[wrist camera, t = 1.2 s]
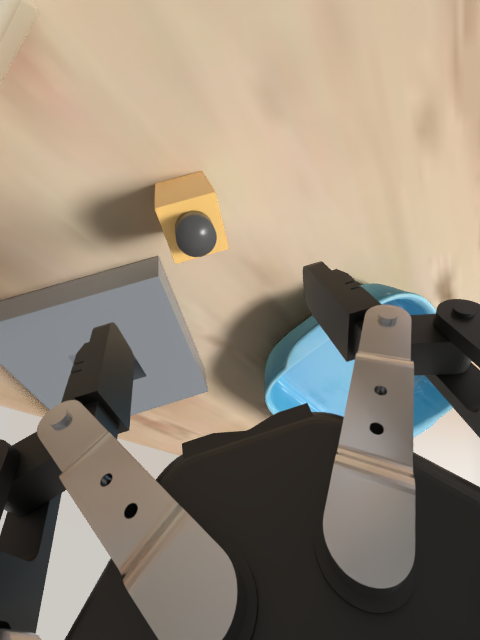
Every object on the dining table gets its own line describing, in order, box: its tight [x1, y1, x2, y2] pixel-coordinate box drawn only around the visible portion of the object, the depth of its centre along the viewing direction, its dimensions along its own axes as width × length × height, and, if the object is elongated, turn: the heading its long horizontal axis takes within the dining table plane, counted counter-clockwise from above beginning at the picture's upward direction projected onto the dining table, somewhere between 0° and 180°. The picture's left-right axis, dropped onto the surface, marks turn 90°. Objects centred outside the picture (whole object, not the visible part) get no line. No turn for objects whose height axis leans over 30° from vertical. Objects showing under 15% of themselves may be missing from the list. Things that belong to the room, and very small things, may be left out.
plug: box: [155, 171, 229, 264], centre depth 22 cm, size 4×4×8 cm
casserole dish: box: [264, 284, 453, 437], centre depth 42 cm, size 37×22×7 cm, turn 40°
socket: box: [0, 256, 208, 416], centre depth 31 cm, size 16×16×4 cm
